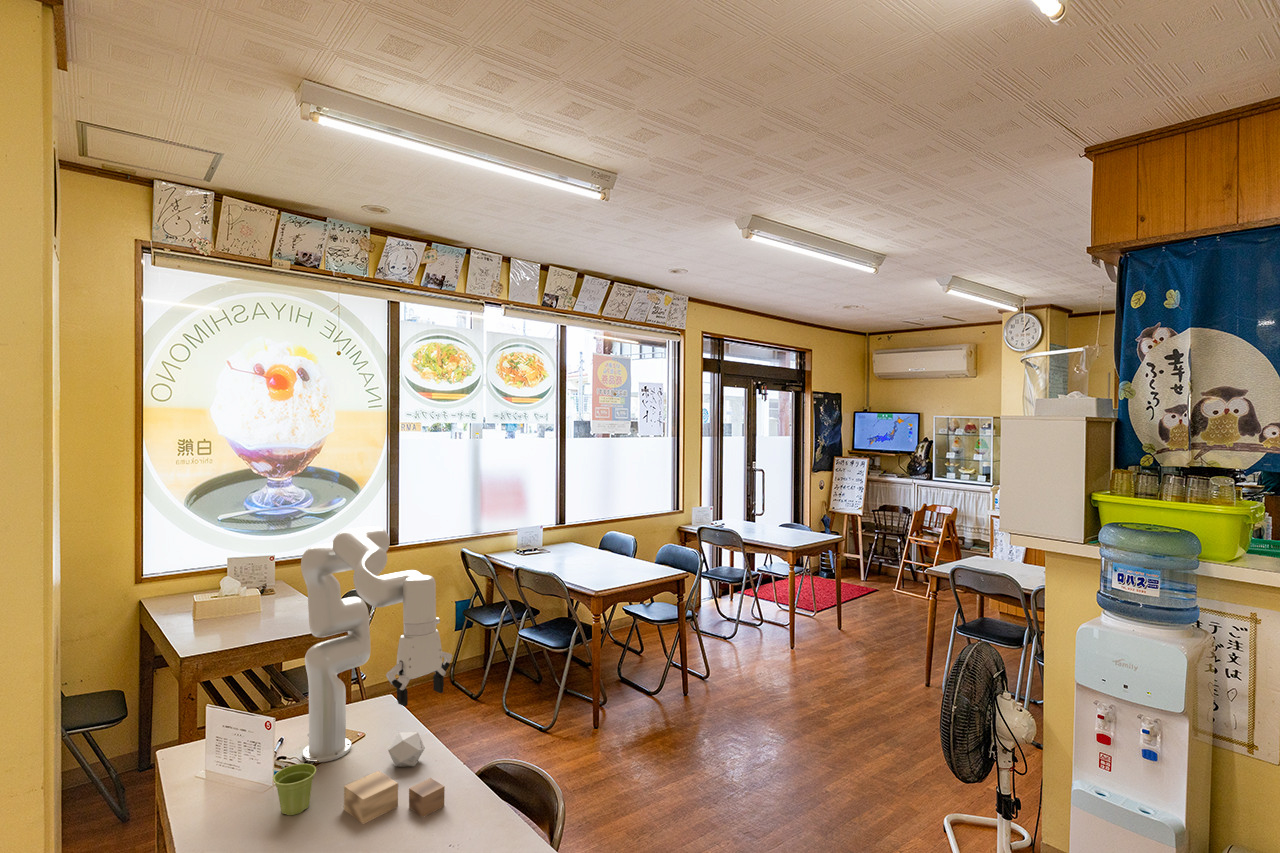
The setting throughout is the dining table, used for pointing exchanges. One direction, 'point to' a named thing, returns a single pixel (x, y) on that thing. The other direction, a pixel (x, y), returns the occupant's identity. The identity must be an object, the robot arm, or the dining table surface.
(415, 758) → the die
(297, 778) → the plant pot
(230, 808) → the dining table surface
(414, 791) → the walnut block
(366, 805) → the oak base
